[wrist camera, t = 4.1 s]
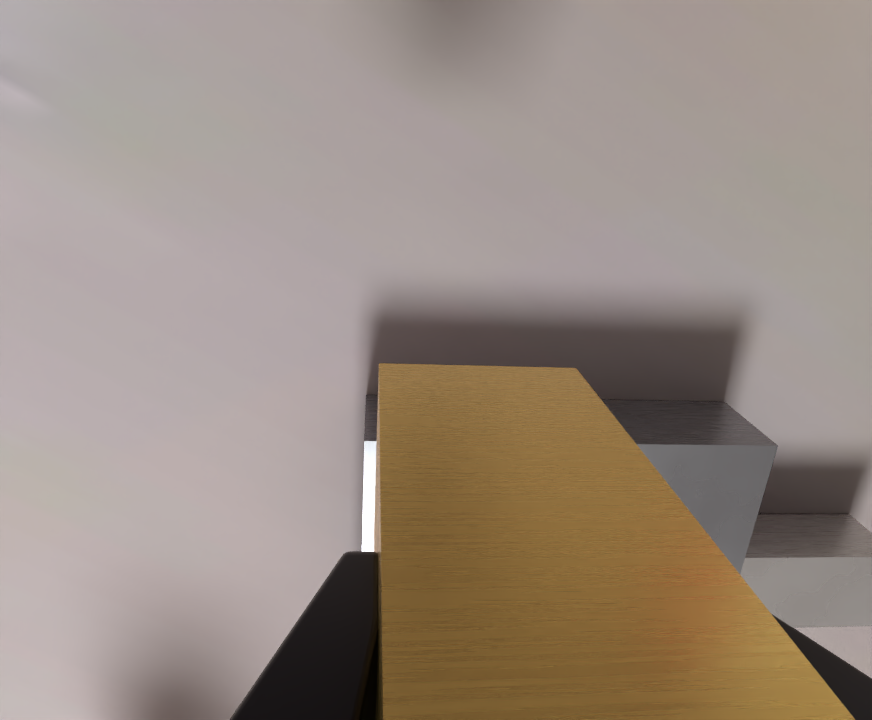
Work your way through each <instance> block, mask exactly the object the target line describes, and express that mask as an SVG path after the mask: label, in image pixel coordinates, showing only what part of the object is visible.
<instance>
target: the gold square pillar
mask: <svg viewBox="0 0 872 720" xmlns="http://www.w3.org/2000/svg"><path fill="white" fill-rule="evenodd" d="M374 552H376V553H377V554H378V624H379V639H378V667H377V696H376V720H855V719H854V717H853V716H852V715H851V714H850V712H849V711H848V710H847V709H846V707H845V706H844V705H843V704H842V702H841V701H840V700H839V699H838V697H837V696H836V695H835V694H834V692H833V691H832V690H831V689H830V687H829V686H828V685H827V683H826V682H825V681H824V680H823V678H822V677H821V676H820V675H819V673H818V672H817V671H816V670H815V668H814V667H813V666H812V665H811V663H810V662H809V661H808V660H807V658H806V657H805V656H804V655H803V653H802V652H801V651H800V649H799V648H798V647H797V646H796V644H795V643H794V642H793V641H792V639H791V638H790V637H789V636H788V634H787V633H786V632H785V631H784V629H783V628H782V627H781V626H780V624H779V623H778V622H777V621H776V619H775V618H774V617H773V616H772V614H771V613H770V612H769V610H768V609H767V608H766V607H765V605H764V604H763V603H762V602H761V600H760V599H759V598H758V597H757V595H756V594H755V593H754V592H753V590H752V589H751V588H750V587H749V585H748V584H747V583H746V582H745V580H744V579H743V578H742V576H741V575H740V574H739V573H738V571H737V570H736V569H735V568H734V566H733V565H732V564H731V563H730V561H729V560H728V559H727V558H726V556H725V555H724V554H723V553H722V551H721V550H720V549H719V548H718V546H717V545H716V544H715V542H714V541H713V540H712V539H711V537H710V536H709V535H708V534H707V532H706V531H705V530H704V529H703V527H702V526H701V525H700V524H699V522H698V521H697V520H696V519H695V517H694V516H693V515H692V514H691V512H690V511H689V510H688V508H687V507H686V506H685V505H684V503H683V502H682V501H681V500H680V498H679V497H678V496H677V495H676V493H675V492H674V491H673V490H672V488H671V487H670V486H669V485H668V483H667V482H666V481H665V480H664V478H663V477H662V476H661V474H660V473H659V472H658V471H657V469H656V468H655V467H654V466H653V464H652V463H651V462H650V461H649V459H648V458H647V457H646V456H645V454H644V453H643V452H642V451H641V449H640V448H639V447H638V446H637V444H636V443H635V442H634V440H633V439H632V438H631V437H630V435H629V434H628V433H627V432H626V430H625V429H624V428H623V427H622V425H621V424H620V423H619V422H618V420H617V419H616V418H615V417H614V415H613V414H612V413H611V412H610V410H609V409H608V408H607V406H606V405H605V404H604V403H603V401H602V400H601V399H600V398H599V396H598V395H597V394H596V393H595V391H594V390H593V389H592V388H591V386H590V385H589V384H588V383H587V381H586V380H585V379H584V378H583V376H582V375H581V374H580V372H579V371H578V370H577V369H576V368H556V367H514V366H471V365H429V364H387V363H379V376H378V410H377V443H376V476H375V509H374Z"/></svg>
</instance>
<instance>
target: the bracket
mask: <svg viewBox="0 0 872 720" xmlns="http://www.w3.org/2000/svg"><path fill="white" fill-rule="evenodd" d="M602 401H603V403H604V404H605V405H606V406H607V408H608V409H609V410H610V412H611V413H612V414H613V415H614V417H615V418H616V419H617V420H618V422H619V423H620V424H621V425H622V427H623V428H624V429H625V430H626V432H627V433H628V434H629V435H630V437H631V438H632V439H633V440H634V442H635V443H636V444H637V446H638V447H639V448H640V449H641V451H642V452H643V453H644V454H645V456H646V457H647V458H648V459H649V461H650V462H651V463H652V464H653V466H654V467H655V468H656V469H657V471H658V472H659V473H660V474H661V476H662V477H663V478H664V480H665V481H666V482H667V483H668V485H669V486H670V487H671V488H672V490H673V491H674V492H675V493H676V495H677V496H678V497H679V498H680V500H681V501H682V502H683V503H684V505H685V506H686V507H687V508H688V510H689V511H690V512H691V514H692V515H693V516H694V517H695V519H696V520H697V521H698V522H699V524H700V525H701V526H702V527H703V529H704V530H705V531H706V532H707V534H708V535H709V536H710V537H711V539H712V540H713V541H714V542H715V544H716V545H717V546H718V548H719V549H720V550H721V551H722V553H723V554H724V555H725V556H726V558H727V559H728V560H729V561H730V563H731V564H732V565H733V566H734V568H735V569H736V570H737V571H738V573H739V574H740V575H741V576H742V578H743V579H744V580H745V582H746V583H747V584H748V585H749V587H750V588H751V589H752V590H753V592H754V593H755V594H756V595H757V597H758V598H759V599H760V600H761V602H762V603H763V604H764V605H765V607H766V608H767V609H768V610H769V612H770V613H771V614H773V615H774V616H776V617H777V618H779V619H780V620H782V621H783V622H785V623H787V624H788V625H790V626H791V627H793V628H798V627H847V626H872V533H871V532H870V531H869V530H867V529H866V528H865V527H864V526H863V525H862V524H860V523H859V522H858V521H857V520H856V519H854V518H853V517H852V516H851V515H850V514H758V512H759V508H760V505H761V502H762V498H763V495H764V491H765V488H766V485H767V481H768V478H769V474H770V471H771V468H772V464H773V461H774V457H775V454H776V451H777V447H778V446H777V445H776V444H775V443H774V442H773V441H771V440H770V439H769V438H768V437H767V436H765V435H764V434H763V433H762V432H760V431H759V430H758V429H757V428H756V427H754V426H753V425H752V424H751V423H750V422H748V421H747V420H746V419H745V418H744V417H742V416H741V415H740V414H739V413H737V412H736V411H735V410H734V409H733V408H731V407H730V406H729V405H728V404H727V403H725V402H699V401H647V400H602ZM377 410H378V395H366V413H365V437H364V478H363V524H362V551H374V509H375V476H376V443H377Z"/></svg>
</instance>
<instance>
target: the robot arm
mask: <svg viewBox="0 0 872 720" xmlns="http://www.w3.org/2000/svg"><path fill="white" fill-rule="evenodd" d="M772 616H773V617H774V618H775V619H776V621H777V622H778V623H779V624H780V626H781V627H782V628H783V629H784V631H785V632H786V633H787V634H788V636H789V637H790V638H791V639H792V641H793V642H794V643H795V644H796V646H797V647H798V648H799V649H800V651H801V652H802V653H803V655H804V656H805V657H806V658H807V660H808V661H809V662H810V663H811V665H812V666H813V667H814V668H815V670H816V671H817V672H818V673H819V675H820V676H821V677H822V678H823V680H824V681H825V682H826V683H827V685H828V686H829V687H830V689H831V690H832V691H833V692H834V694H835V695H836V696H837V697H838V699H839V700H840V701H841V702H842V704H843V705H844V706H845V707H846V709H847V710H848V711H849V712H850V714H851V715H852V716H853V717H854V719H855V720H872V678H870V677H868V676H867V675H865V674H864V673H862V672H861V671H859V670H858V669H856V668H855V667H853V666H851V665H850V664H848V663H847V662H845V661H844V660H842V659H841V658H839V657H838V656H836V655H834V654H833V653H831V652H830V651H828V650H827V649H825V648H824V647H822V646H821V645H819V644H817V643H816V642H814V641H813V640H811V639H810V638H808V637H807V636H805V635H804V634H802V633H800V632H799V631H797V630H796V629H794V628H793V627H791V626H790V625H788V624H787V623H785V622H783V621H782V620H780V619H779V618H777V617H776V616H774V615H773V614H772ZM378 639H379V624H378V554H377V553H376V552H374V551H353V552H346V553H345V554H343V556H342V557H341V558H340V560H339V561H338V563H337V564H336V566H335V567H334V568H333V570H332V571H331V573H330V574H329V576H328V577H327V579H326V580H325V582H324V583H323V585H322V586H321V587H320V589H319V590H318V592H317V593H316V595H315V596H314V598H313V599H312V601H311V602H310V603H309V605H308V606H307V608H306V609H305V611H304V612H303V614H302V615H301V617H300V618H299V619H298V621H297V622H296V624H295V625H294V627H293V628H292V630H291V631H290V633H289V634H288V636H287V637H286V638H285V640H284V641H283V643H282V644H281V646H280V647H279V649H278V650H277V652H276V653H275V654H274V656H273V657H272V659H271V660H270V662H269V663H268V665H267V666H266V668H265V669H264V670H263V672H262V673H261V675H260V676H259V678H258V679H257V681H256V682H255V684H254V685H253V687H252V688H251V689H250V691H249V692H248V694H247V695H246V697H245V698H244V700H243V701H242V703H241V704H240V705H239V707H238V708H237V710H236V711H235V713H234V714H233V716H232V717H231V719H230V720H376V696H377V667H378Z"/></svg>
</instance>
